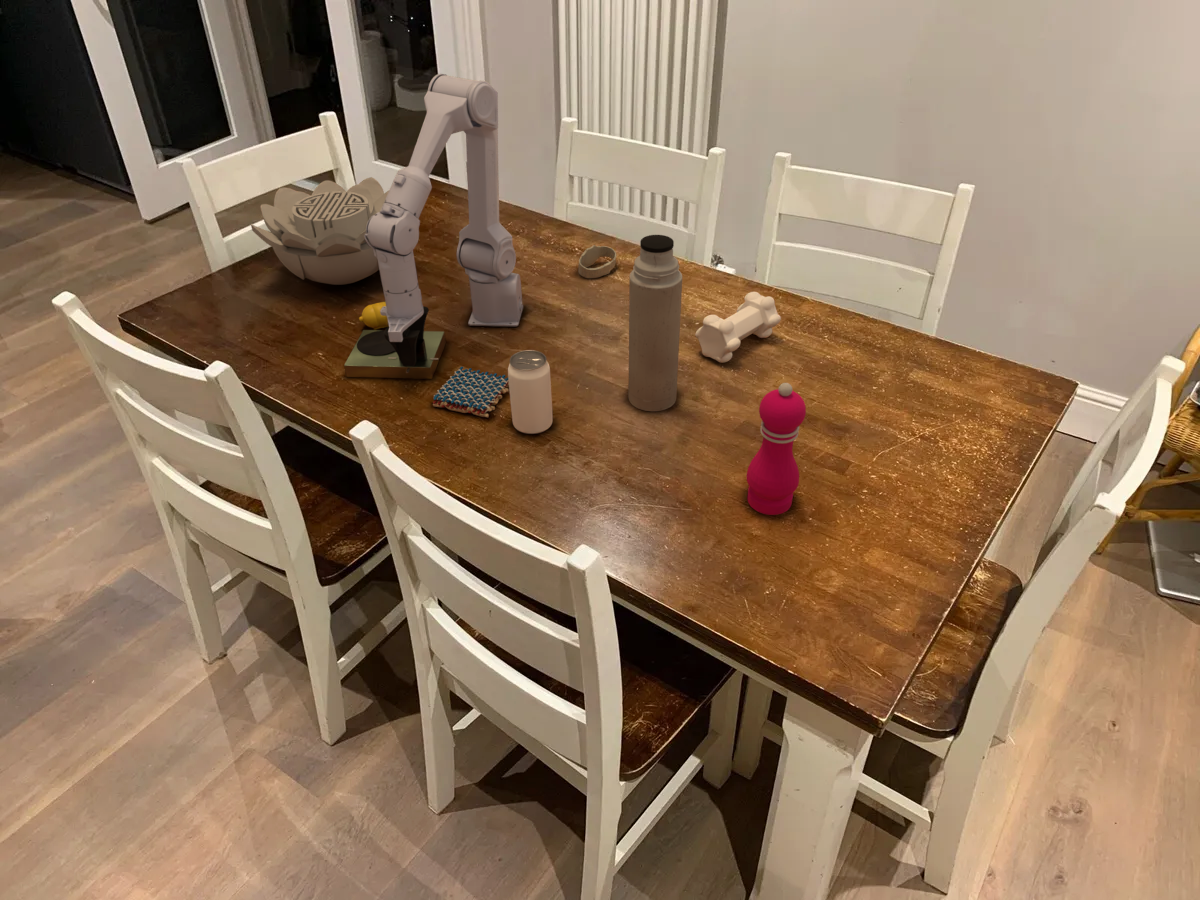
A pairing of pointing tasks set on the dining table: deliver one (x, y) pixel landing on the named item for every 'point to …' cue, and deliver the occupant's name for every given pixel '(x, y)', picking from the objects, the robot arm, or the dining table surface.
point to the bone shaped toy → (737, 326)
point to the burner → (375, 344)
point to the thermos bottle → (654, 325)
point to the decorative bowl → (324, 231)
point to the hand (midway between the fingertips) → (412, 356)
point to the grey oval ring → (590, 258)
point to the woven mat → (471, 392)
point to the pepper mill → (776, 452)
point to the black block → (420, 350)
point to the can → (530, 392)
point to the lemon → (374, 316)
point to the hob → (396, 361)
